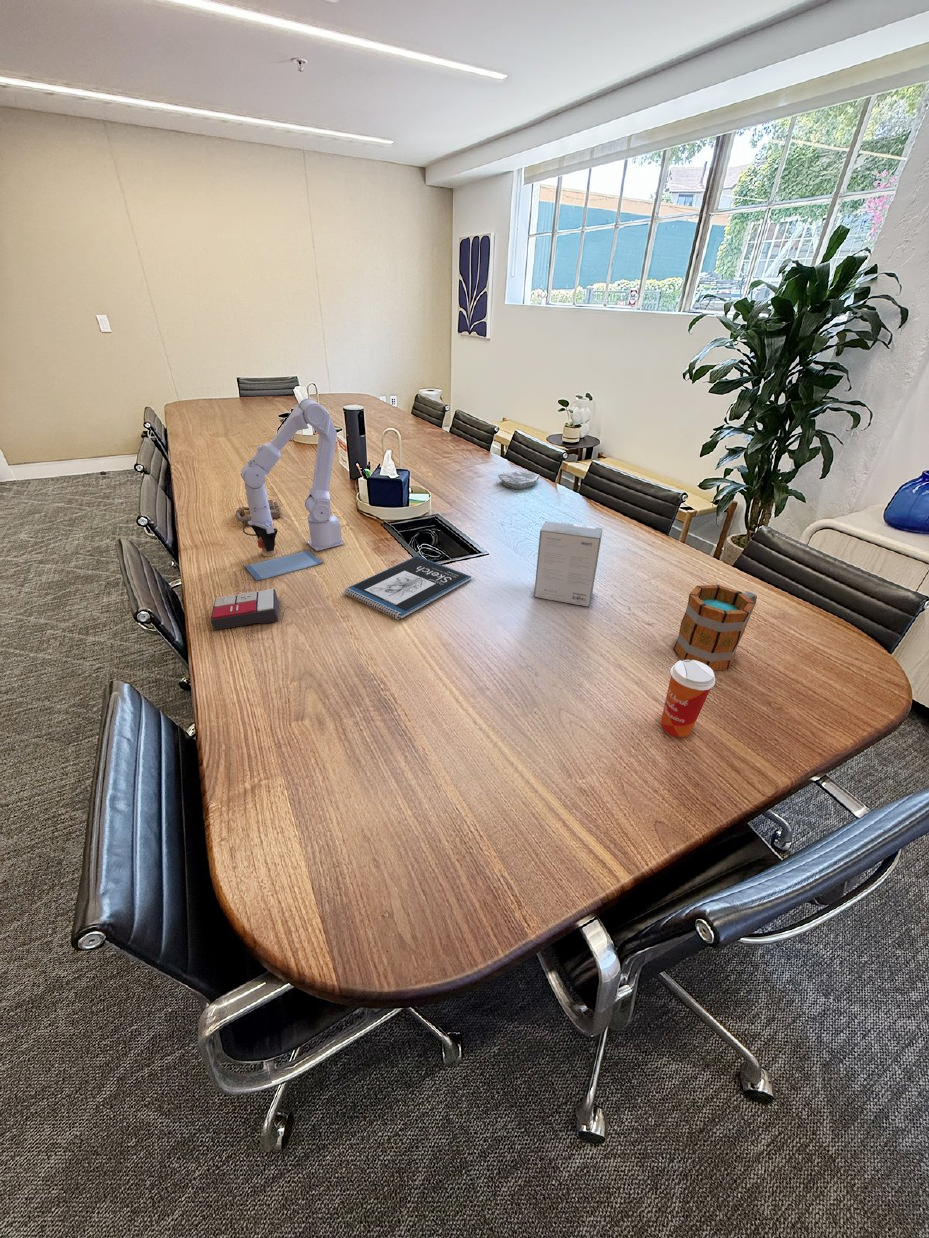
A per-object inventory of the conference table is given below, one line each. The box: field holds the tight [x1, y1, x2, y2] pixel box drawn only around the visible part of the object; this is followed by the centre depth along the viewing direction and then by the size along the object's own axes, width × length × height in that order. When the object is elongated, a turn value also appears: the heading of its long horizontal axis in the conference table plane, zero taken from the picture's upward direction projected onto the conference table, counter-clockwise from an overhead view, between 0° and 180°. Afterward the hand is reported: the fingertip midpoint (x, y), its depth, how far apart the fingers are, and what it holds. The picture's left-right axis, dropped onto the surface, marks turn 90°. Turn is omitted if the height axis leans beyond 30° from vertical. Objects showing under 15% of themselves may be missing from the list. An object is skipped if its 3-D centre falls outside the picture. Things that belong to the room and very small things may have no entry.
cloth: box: [244, 549, 323, 582], centre depth 155 cm, size 20×11×1 cm, turn 127°
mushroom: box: [256, 537, 277, 557], centre depth 160 cm, size 5×5×7 cm
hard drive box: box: [533, 520, 604, 607], centre depth 137 cm, size 16×8×20 cm, turn 71°
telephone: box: [235, 499, 281, 537], centre depth 183 cm, size 15×33×4 cm, turn 23°
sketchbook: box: [343, 555, 472, 621], centre depth 144 cm, size 22×30×2 cm
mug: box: [672, 584, 758, 671], centre depth 118 cm, size 20×14×15 cm
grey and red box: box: [210, 588, 279, 631], centre depth 130 cm, size 11×4×15 cm
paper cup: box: [660, 659, 716, 738], centre depth 96 cm, size 8×8×14 cm
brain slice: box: [497, 470, 541, 490], centre depth 227 cm, size 20×17×3 cm
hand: (267, 547), depth 160 cm, fingers closed on mushroom, 5 cm apart
